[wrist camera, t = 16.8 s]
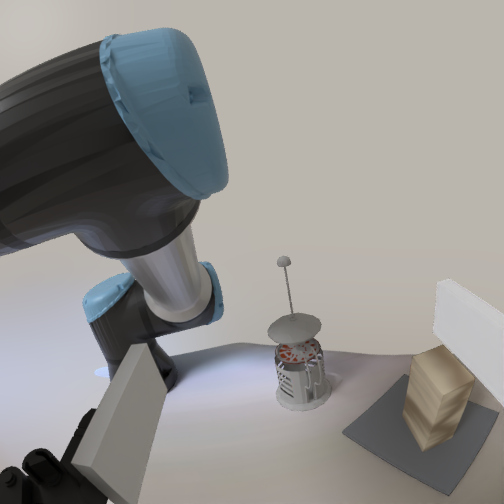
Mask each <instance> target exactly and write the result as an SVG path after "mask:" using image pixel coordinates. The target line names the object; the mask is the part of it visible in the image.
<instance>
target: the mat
mask: <svg viewBox="0 0 504 504" xmlns="http://www.w3.org/2000/svg"><path fill="white" fill-rule="evenodd" d="M408 383H409V376H408V375H406V374H404V375H403V376H402V377H401V378H400V379H399V380H398V381H397V382H396V383H395V384H394V385H393V386H392V387H391V388H390V389H389V390H388V391H387V392H386V393H385V394H384V395H383V396H382V397H381V398H380V399H379V400H378V401H377V402H375V403H374V404H373V405H372V406H371V407H370V408H369V409H368V410H367V411H366V412H364V413H363V414H362V415H361V416H360V417H359V418H358V419H356V420H355V421H354V422H353V423H352V424H350V425H349V426H348V427H347V428H346V429H344V430H343V431H342V433H343V434H344V435H346V436H347V437H349V438H350V439H352V440H353V441H355V442H356V443H358V444H359V445H361V446H363V447H364V448H366V449H367V450H369V451H370V452H372V453H373V454H375V455H377V456H378V457H380V458H382V459H383V460H385V461H386V462H388V463H390V464H391V465H393V466H395V467H396V468H398V469H400V470H402V471H403V472H405V473H407V474H408V475H410V476H412V477H414V478H416V479H417V480H419V481H421V482H423V483H425V484H427V485H428V486H430V487H432V488H434V489H436V490H438V491H440V492H442V493H444V494H446V495H448V496H449V495H450V493H451V492H452V491H453V489H454V488H455V487H456V485H457V484H458V482H459V481H460V479H461V478H462V477H463V475H464V474H465V472H466V471H467V469H468V468H469V466H470V464H471V463H472V461H473V460H474V458H475V456H476V455H477V453H478V451H479V450H480V448H481V446H482V444H483V443H484V441H485V439H486V437H487V435H488V434H489V432H490V430H491V428H492V426H493V424H494V422H495V420H496V418H497V416H498V414H499V412H496V411H493V410H491V409H488V408H486V407H483V406H480V405H478V404H475V403H473V402H470V401H467V404H466V406H465V409H464V411H463V414H462V416H461V419H460V421H459V423H458V426H457V428H456V430H455V432H454V435H453V437H452V438H451V439H449V440H447V441H445V442H443V443H441V444H439V445H437V446H435V447H433V448H431V449H429V450H426V451H424V452H422V450H421V448H420V447H419V445H418V443H417V441H416V439H415V438H414V436H413V434H412V432H411V430H410V429H409V427H408V425H407V423H406V422H405V420H404V418H403V416H402V414H403V409H404V404H405V399H406V394H407V389H408Z"/></svg>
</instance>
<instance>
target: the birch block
mask: <svg viewBox="0 0 504 504" xmlns="http://www.w3.org/2000/svg"><path fill="white" fill-rule="evenodd" d="M474 381H475V377H474V376H473V375H472V374H471V373H470V372H469V371H468V370H467V369H466V368H465V367H464V366H463V365H462V364H461V363H460V362H459V361H458V360H457V358H456V357H455V356H454V355H453V354H452V353H451V352H450V351H449V350H448V349H447V348H446V347H445V346H444V345H441V346H438V347H436V348H433V349H431V350H428V351H426V352H423V353H421V354H418V355H415V356H413V357H412V364H411V368H410V375H409V383H408V389H407V394H406V399H405V404H404V409H403V414H402V416H403V418H404V420H405V422H406V423H407V425H408V427H409V429H410V430H411V432H412V434H413V436H414V438H415V439H416V441H417V443H418V445H419V447H420V448H421V450H422V452H424V451H426V450H429V449H431V448H433V447H435V446H437V445H439V444H441V443H443V442H445V441H447V440H449V439H451V438H452V437H453V435H454V432H455V430H456V428H457V426H458V423H459V421H460V419H461V416H462V414H463V411H464V409H465V406H466V404H467V401H468V398H469V396H470V393H471V390H472V387H473V384H474Z"/></svg>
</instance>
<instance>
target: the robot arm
mask: <svg viewBox="0 0 504 504" xmlns="http://www.w3.org/2000/svg"><path fill="white" fill-rule="evenodd" d="M227 183H228V166H227V159H226V154H225V148H224V144H223V139H222V135H221V131H220V126H219V122H218V118H217V114H216V110H215V106H214V103H213V99H212V95H211V92H210V88H209V85H208V82H207V79H206V76H205V73H204V69H203V66H202V63H201V61H200V58H199V55H198V53H197V51H196V48H195V46H194V45H193V43H192V41H191V40H190V39H189V37H188V36H187V35H185V34H184V33H182V32H181V31H179V30H176V29H172V28H158V29H152V30H147V31H142V32H136V33H131V34H125V35H118V34H114V35H110V36H107V37H105V38H104V39H103V40H102V41H98V42H95V43H92V44H89V45H87V46H84V47H81V48H78V49H76V50H73V51H70V52H68V53H65V54H62V55H60V56H58V57H55V58H53V59H51V60H48V61H46V62H44V63H42V64H39V65H37V66H35V67H33V68H31V69H29V70H27V71H25V72H23V73H21V74H20V75H17V76H15V77H13V78H12V79H10V80H8V81H6V82H4V83H3V84H1V85H0V256H3V255H6V254H10V253H14V252H16V251H19V250H22V249H25V248H29V247H31V246H34V245H37V244H40V243H42V242H45V241H48V240H51V239H54V238H57V237H60V236H63V235H67V234H69V233H74V234H75V235H76V236H77V237H78V238H79V239H80V241H81V242H82V243H83V244H84V245H85V246H86V247H87V248H89V249H90V250H92V251H93V252H94V253H96V254H98V255H100V256H103V257H107V258H110V259H116V260H120V261H121V263H122V264H123V265H124V266H125V267H126V269H127V270H128V271H129V272H130V273H122V274H118V275H116V276H113V277H111V278H109V279H107V280H105V281H103V282H101V283H99V284H98V285H96V286H95V287H93V288H92V289H91V290H90V291H89V292H88V293H87V294H86V295H85V296H84V298H83V308H84V311H85V314H86V317H87V321H88V323H89V325H90V327H91V329H92V331H93V333H94V336H95V338H96V340H97V342H98V344H99V346H100V348H101V350H102V353H103V355H104V356H105V359H106V361H107V363H108V369H109V376H110V382H111V383H110V385H109V387H108V389H107V391H106V392H105V394H104V396H103V398H102V400H101V402H100V404H99V406H98V408H97V409H92V408H91V410H89V411H88V412H87V413H86V414H85V415H84V416H83V418H82V420H81V421H80V423H79V426H78V429H76V431H75V433H74V437H72V439H71V441H70V443H69V445H68V447H67V449H66V451H65V453H64V455H63V457H62V459H61V461H60V462H59V461H58V460H57V458H55V456H53V454H52V453H51V452H50V451H48V450H47V449H43V448H39V449H35V450H33V451H31V452H30V453H29V454H28V455H27V456H26V457H25V458H24V461H23V463H22V469H23V470H24V471H25V472H26V473H27V474H28V475H29V476H26V475H25V474H24V473H23V472H22V471H21V470H20V469H18V468H17V467H13V466H11V467H8V468H6V469H4V470H3V471H2V472H1V474H0V504H106V503H107V500H108V499H109V500H110V501H112V502H113V503H114V504H137V502H138V498H139V494H140V490H141V486H142V482H143V478H144V474H145V470H146V466H147V462H148V458H149V455H150V451H151V447H152V443H153V440H154V436H155V432H156V429H157V425H158V422H159V418H160V415H161V411H162V408H163V404H164V401H165V397H166V394H167V391H168V390H169V389H170V388H171V387H172V386H173V385H174V383H175V382H176V379H177V369H176V367H175V365H174V362H173V361H172V359H171V358H170V357H169V356H168V355H167V354H166V353H165V351H164V350H163V349H162V348H161V347H160V346H159V345H158V343H157V342H156V339H155V338H156V337H160V336H163V335H167V334H171V333H175V332H179V331H183V330H187V329H191V328H195V327H198V326H202V325H209V324H211V323H212V322H215V321H217V320H219V319H220V318H221V317H222V315H223V312H224V305H223V297H222V291H221V287H220V284H219V280H218V277H217V274H216V272H215V269H214V268H213V266H212V265H211V264H210V263H209V262H198V261H197V256H196V251H195V246H194V240H193V235H192V230H191V223H192V221H193V220H194V218H195V216H196V214H197V212H198V209H199V206H200V203H201V200H202V199H207V198H209V197H210V196H211V194H213V193H216V192H219V191H221V190H223V189H224V188H225V187H226V185H227ZM135 279H136V280H135ZM433 333H434V334H435V335H436V336H437V337H438V338H439V339H440V340H441V341H442V342H443V343H444V344H445V345H446V346H447V347H448V348H449V349H450V350H451V351H452V352H453V353H454V354H455V355H456V356H457V357H458V358H459V359H460V360H461V361H462V362H463V363H464V364H465V365H466V366H467V367H468V369H469V370H470V371H471V372H472V373H473V374H474V375H475V376H476V377H477V378H478V379H479V380H480V381H481V382H482V383H483V385H484V386H485V387H486V388H487V389H488V390H489V391H490V392H491V393H492V394H493V396H494V397H495V398H496V399H497V400H498V401H499V402H500V403H501V405H502V406H503V407H504V314H503V313H501V312H500V311H498V310H497V309H496V308H494V307H493V306H491V305H490V304H488V303H486V302H485V301H484V300H482V299H481V298H479V297H478V296H476V295H475V294H473V293H472V292H470V291H469V290H467V289H465V288H464V287H462V286H461V285H459V284H458V283H456V282H455V281H453V280H451V279H450V278H448V279H445V280H442V281H439V282H437V293H436V305H435V316H434V325H433Z"/></svg>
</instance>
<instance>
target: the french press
mask: <svg viewBox="0 0 504 504" xmlns="http://www.w3.org/2000/svg"><path fill="white" fill-rule="evenodd" d="M290 264H291V261H290V259H289V257H287V256H282V257H280V258H279V259H278V260H277V265H278V266H279V267H284V271H285V276H286V282H287V288H288V295H289V300H290V307H291V313H292V314H290V315H286V316H282V317H281V318H279V319H278V320H276V321H275V322H274V323H272V324H271V325H270V327H269V329H268V336H269V337H270V338H271V339H272V340H273V341H274V342H276V343H280V344H279V345H278V346H277V348H276V350H275V354H276V356H275V365H276V370H277V375H278V380H279V385H280V383H281V385H280V386H279V387H278V389H277V392H276V397H277V401H278V402H279V403H280V404H281V406H282V407H284V408H287V409H289V410H291V411H307V410H311V409H315V408H317V407H319V406H320V405H322V404H324V403H325V402H326V400H327V399H328V398H329V397H330V394H331V389H332V388H331V385H330V383H329V381H328V380H326V379H325V373H323V372H324V370H323V369H324V361H323V357H321V356H317V354H318V353H321V354H322V356H323V351H322V349H321V348H320V347H321V346H320V344H319V342H318V341H317V340H315V339H314V338H313V337H314V336H315V335H316V334H317V333H318V332H319V331H320V329H321V322H320V320H319V319H318V318H316V317H314V316H312V315H307V314H303V313H295V314H293V310H292V302H291V296H290V290H289V284H288V278H287V272H286V266H289V265H290ZM312 359H317V362H312V361H310V360H312ZM318 359H320V360H321V361H320V362H319V361H318ZM281 361H282V362H283V363H282V364H281V365H280V366H279V367H278V364H279V363H280V362H281ZM305 363H306V366H305ZM308 364H313V365H316V366H314V367H311V366H308ZM283 365H284V368H283V369H281V368H282V366H283ZM322 366H323V368H322ZM305 369H307V370H308V371H306V370H305ZM309 369H311V372H310V370H309ZM278 372H280V373H279V374H278ZM281 374H283V376H281ZM285 376H286V378H284V377H285ZM279 377H280V378H281V379H279ZM282 379H283V380H284V381H283V382H282Z"/></svg>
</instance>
